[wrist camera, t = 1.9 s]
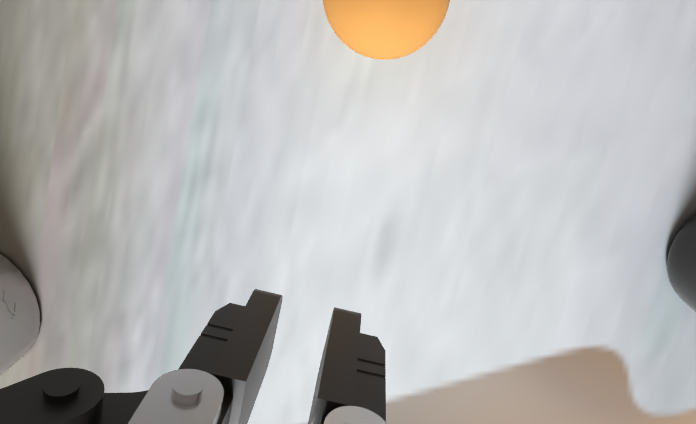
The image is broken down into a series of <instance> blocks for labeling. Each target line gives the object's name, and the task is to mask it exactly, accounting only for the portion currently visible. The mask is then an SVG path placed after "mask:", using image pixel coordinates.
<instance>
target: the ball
mask: <svg viewBox="0 0 696 424" xmlns="http://www.w3.org/2000/svg"><path fill="white" fill-rule="evenodd" d="M449 1H450V0H323V4H324V9H325V13H326V16H327V18H328V21H329V23H330V25H331V27H332V29H333V30H334V32H335V33H336V35H337V36H338V37H339V38H340V39H341V41H342V42H343V43H344V44H346V45H347V46H348V47H349V48H350V49H352V50H354V51H355V52H357V53H359V54H361V55H363V56H366V57H370V58H374V59H396V58H400V57H403V56H406V55H408V54H411V53H413V52H414V51H416V50H418V49H419V48H421V47H422V46H423V45H425V44H426V43H427V42H428V41H429V40H430V39H431V38H432V37H433V35H434V34H435V33H436V32H437V30H438V29H439V27H440V25H441V24H442V22H443V20H444V18H445V15H446V12H447V9H448V6H449Z"/></svg>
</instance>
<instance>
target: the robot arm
mask: <svg viewBox="0 0 696 424" xmlns="http://www.w3.org/2000/svg"><path fill="white" fill-rule="evenodd" d="M281 303H282V295H279V294H274V293H270V292H266V291H261V290H257V289H255V290H254V291H253V293H252V295H251V297H250V299H249V301H248V302H247V304H246V306H241V305H236V304H232V303H229V304H227V305H226V306H224V307H222V308H220V309H219V310H217V311H215V313H214V314H213V316H212V317H211V319H210V321H209V322H208V324H207V326H206V327H205V328H204V330H203V331H202V333H201V336H199V338H198V339H197V341H196V342H195V344H194V346H193V347H192V349H191V350H190V352H189V353H188V355H187V357H186V358H185V360H184V361H183V363H182V364H181V366H180V368H179V369H178V370H174V371H171V372H168V373H166V374H164V375H162V376H161V377H159V378H158V379H157V380H156V381H155V382H154V383H153V384H152V386H151V387H150V389H149V390H147V391H143V392H134V393H104V384H103V382H102V380H101V379H100V377H99V376H97V375H96V374H94V373H92V372H91V371H88V370H85V369H79V368H61V369H55V370H50V371H47V372H44V373H41V374H39V375H36V376H34V377H31V378H28V379H26V380H23V381H21V382H18V383H15V384H13V385H10V386H8V387H5V388H2V389H0V424H247V422H248V420H249V417H250V414H251V411H252V409H253V406H254V403H255V400H256V398H257V395H258V392H259V389H260V387H261V384H262V381H263V378H264V376H265V373H266V370H267V367H268V363H269V360H270V356H271V352H272V348H273V343H274V338H275V333H276V328H277V323H278V318H279V313H280V308H281ZM360 324H361V313H356V312H352V311H348V310H343V309H339V308H335V307H334V310H333V314H332V318H331V322H330V326H329V330H328V335H327V339H326V343H325V347H324V351H323V355H322V359H321V364H320V368H319V373H318V377H317V382H316V387H315V392H314V397H313V402H312V407H311V412H310V417H309V422H308V424H387V423H386V393H385V350H384V348H383V346H382V344H381V343H380V341H379V339H378V338H377V337H375V336H370V335H366V334H362V333H360ZM39 327H40V311H39V307H38V303H37V300H36V297H35V295H34V293H33V290H32V288H31V286H30V284H29V283H28V281H27V280H26V279H25V277H24V276H23V275H22V273H21V272H20V271H19V270H18V269H17V268H16V267H15V266H14V265H13V264H12V263H11V262H10V261H9V260H8V259H7V258H6V257H4V256H3V255H1V254H0V376H1V375H2V374H3V373H5V372H6V371H7V370H8V369H9V368H10V367H12V366H13V365H14V364H15V363H16V362H17V361H19V360H20V359H21V358H22V357H23V356H24V355H25V354H26V353H27V352H28V351H29V350H30V349H31V348H32V346H33V344H34V342H35V341H36V339H37V336H38V332H39Z"/></svg>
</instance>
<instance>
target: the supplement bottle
mask: <svg viewBox="0 0 696 424" xmlns="http://www.w3.org/2000/svg"><path fill="white" fill-rule="evenodd" d="M667 272H668V277H669V280H670V283H671V285H672V287H673V289H674V290H675V292H676V293H677V295H678V296H679V297H680V298H681V299H682V300H683V301H684V302H685V303H686V304H688V305H689V306H690V307H691V308H692V309H693V310H694V311H695V312H696V215H694V216H693V217H692V218H691V219H690V220H688V221H687V222H686V223H685V224H684V226H683V227H682V228H681V229H680V230H679V232H678V233H677V235H676V237H675V238H674V240H673V242H672V244H671V247H670V250H669V253H668V259H667Z"/></svg>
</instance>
